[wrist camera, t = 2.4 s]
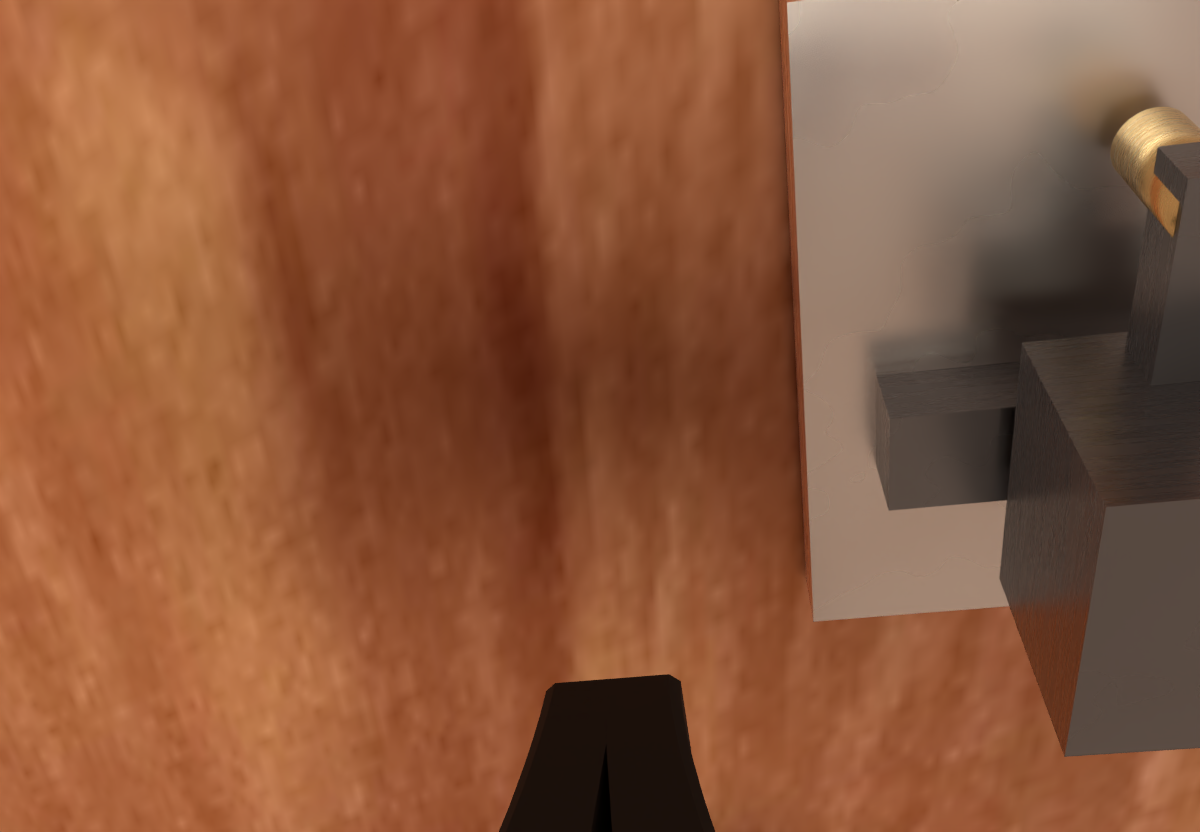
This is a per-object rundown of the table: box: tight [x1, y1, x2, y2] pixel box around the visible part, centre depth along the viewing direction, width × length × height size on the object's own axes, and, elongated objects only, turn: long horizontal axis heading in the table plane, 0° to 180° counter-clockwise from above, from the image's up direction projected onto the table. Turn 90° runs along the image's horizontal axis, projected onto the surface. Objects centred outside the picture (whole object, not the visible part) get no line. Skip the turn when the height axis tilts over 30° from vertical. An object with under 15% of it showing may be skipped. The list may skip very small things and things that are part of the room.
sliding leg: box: [999, 107, 1200, 757], centre depth 13 cm, size 3×6×4 cm, turn 8°
